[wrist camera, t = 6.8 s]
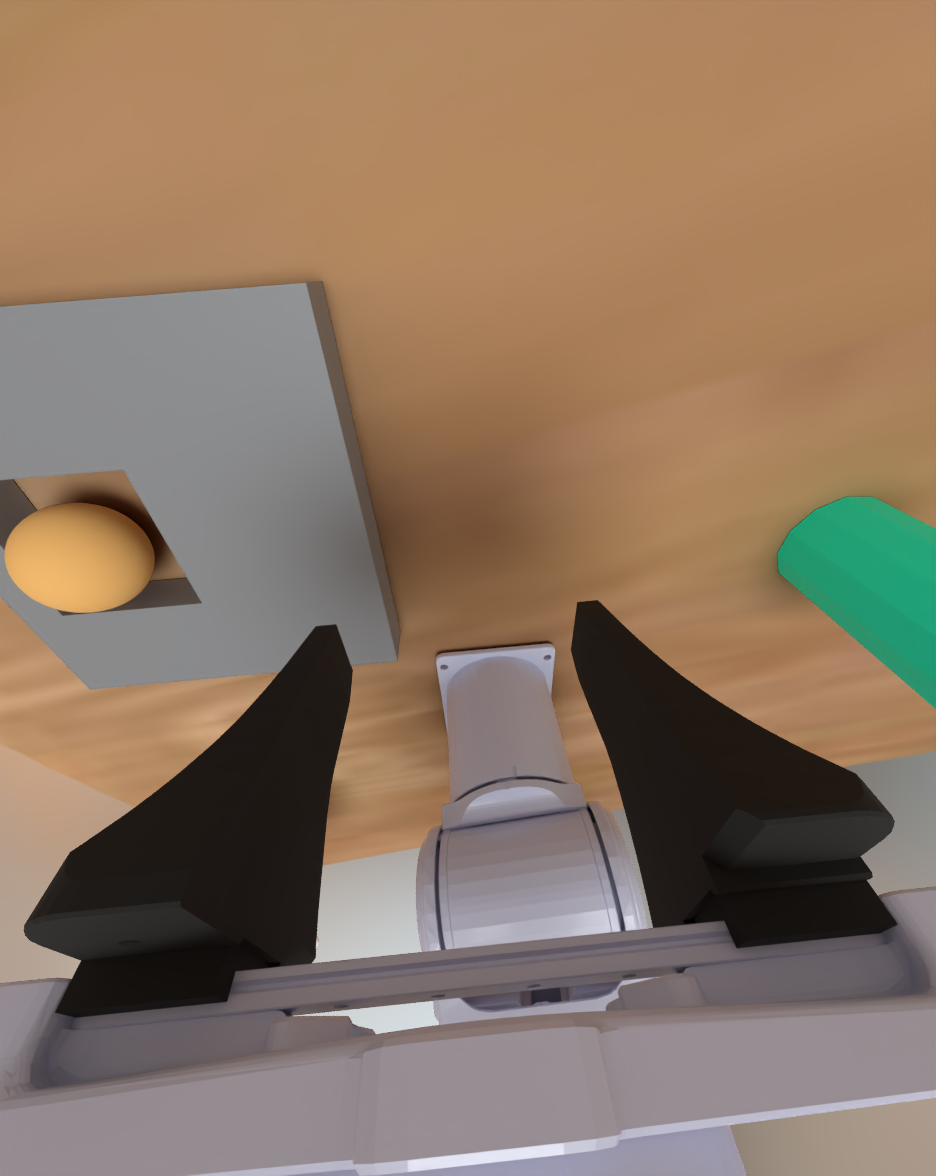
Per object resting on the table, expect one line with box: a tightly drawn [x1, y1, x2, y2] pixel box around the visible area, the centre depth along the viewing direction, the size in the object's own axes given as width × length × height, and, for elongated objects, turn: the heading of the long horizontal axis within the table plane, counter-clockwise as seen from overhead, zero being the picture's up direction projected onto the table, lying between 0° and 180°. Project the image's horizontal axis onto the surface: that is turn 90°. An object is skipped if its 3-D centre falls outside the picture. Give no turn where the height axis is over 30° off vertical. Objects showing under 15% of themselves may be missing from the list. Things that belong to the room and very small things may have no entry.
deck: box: [0, 282, 400, 690], centre depth 20 cm, size 18×18×2 cm
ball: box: [4, 503, 155, 613], centre depth 19 cm, size 5×5×5 cm
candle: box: [777, 497, 936, 709], centre depth 20 cm, size 6×6×12 cm
